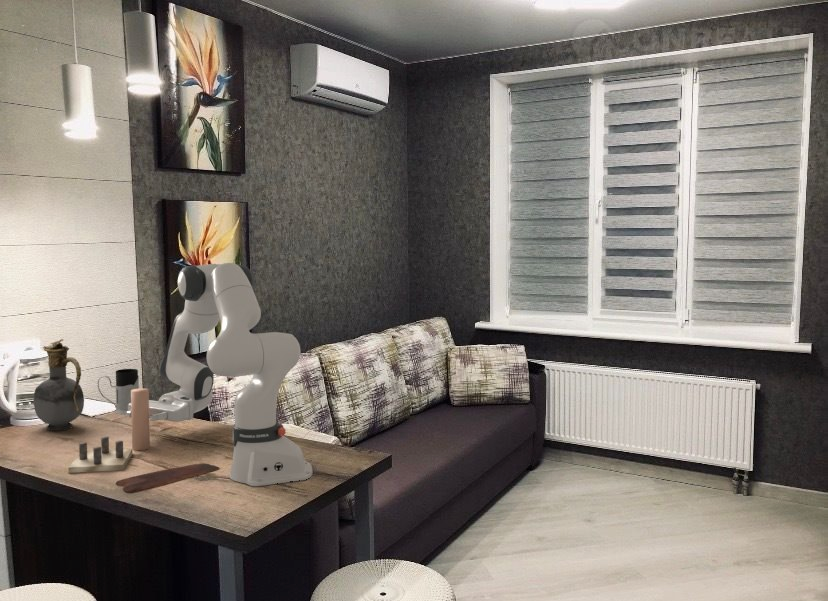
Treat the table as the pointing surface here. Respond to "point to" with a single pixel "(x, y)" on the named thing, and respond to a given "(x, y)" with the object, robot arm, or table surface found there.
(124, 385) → the glass holder
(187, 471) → the wooden tablet
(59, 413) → the pitcher
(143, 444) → the post
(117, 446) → the peg stand
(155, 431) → the table surface
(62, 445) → the table surface
